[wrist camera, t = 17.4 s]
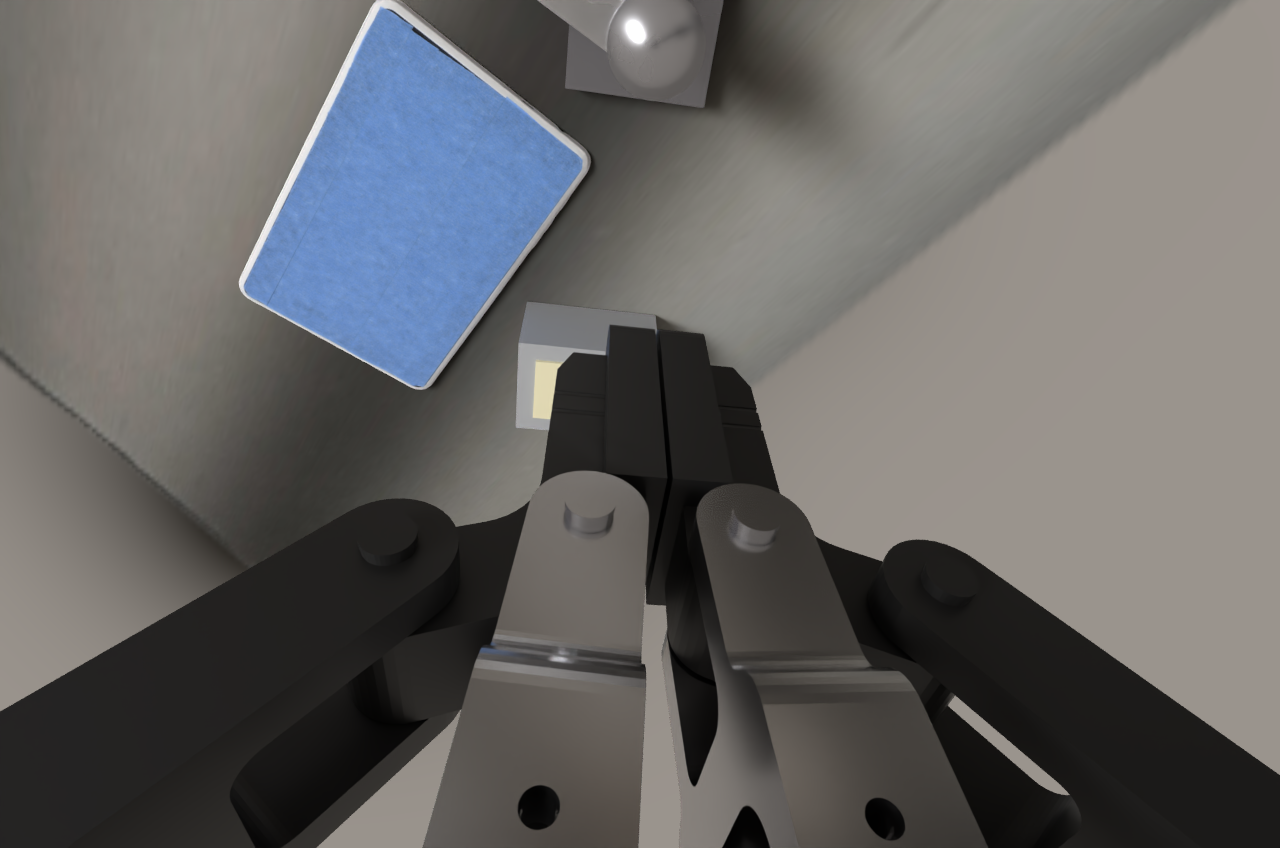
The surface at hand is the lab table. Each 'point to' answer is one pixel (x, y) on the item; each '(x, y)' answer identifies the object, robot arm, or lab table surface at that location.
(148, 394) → the lab table surface
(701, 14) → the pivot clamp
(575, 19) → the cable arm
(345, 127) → the tablet computer
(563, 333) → the block
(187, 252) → the lab table surface
